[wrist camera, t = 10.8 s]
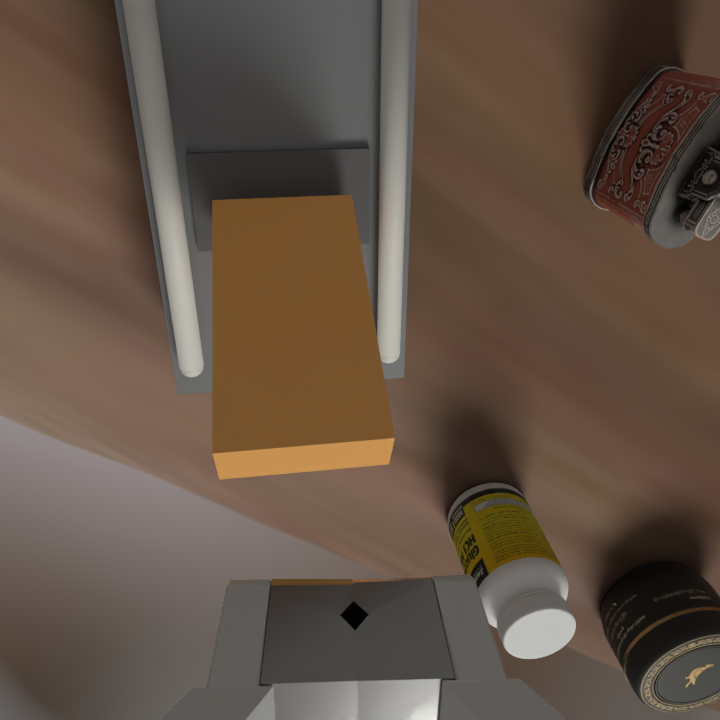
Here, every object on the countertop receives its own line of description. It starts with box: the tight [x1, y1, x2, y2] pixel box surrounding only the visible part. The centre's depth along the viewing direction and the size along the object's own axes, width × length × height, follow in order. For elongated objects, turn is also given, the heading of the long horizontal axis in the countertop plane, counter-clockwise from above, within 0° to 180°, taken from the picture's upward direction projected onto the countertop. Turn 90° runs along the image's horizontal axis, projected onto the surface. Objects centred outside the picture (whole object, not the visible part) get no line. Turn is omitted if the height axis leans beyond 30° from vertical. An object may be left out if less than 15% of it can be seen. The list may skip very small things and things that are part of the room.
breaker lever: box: [212, 195, 395, 479], centre depth 26 cm, size 6×2×12 cm, turn 90°
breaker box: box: [114, 0, 418, 394], centre depth 32 cm, size 12×20×7 cm, turn 0°
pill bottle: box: [448, 483, 576, 659], centre depth 45 cm, size 6×6×11 cm
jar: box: [601, 563, 720, 712], centre depth 54 cm, size 10×10×8 cm
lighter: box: [583, 65, 720, 249], centre depth 33 cm, size 8×3×10 cm, turn 157°
